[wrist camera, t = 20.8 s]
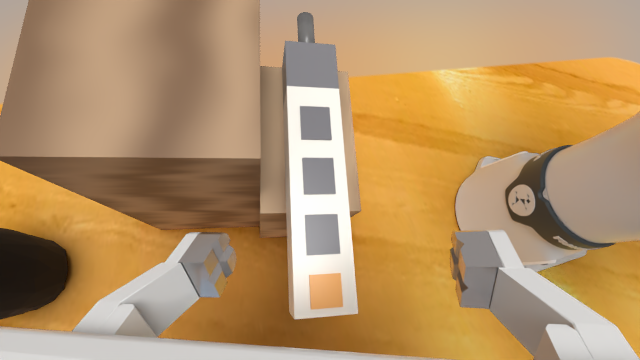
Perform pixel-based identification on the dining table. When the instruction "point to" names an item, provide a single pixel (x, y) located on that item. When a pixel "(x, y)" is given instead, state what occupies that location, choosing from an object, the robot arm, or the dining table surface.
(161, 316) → the robot arm
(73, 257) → the dining table surface
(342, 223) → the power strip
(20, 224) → the dining table surface
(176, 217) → the stand
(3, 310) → the portable speaker
